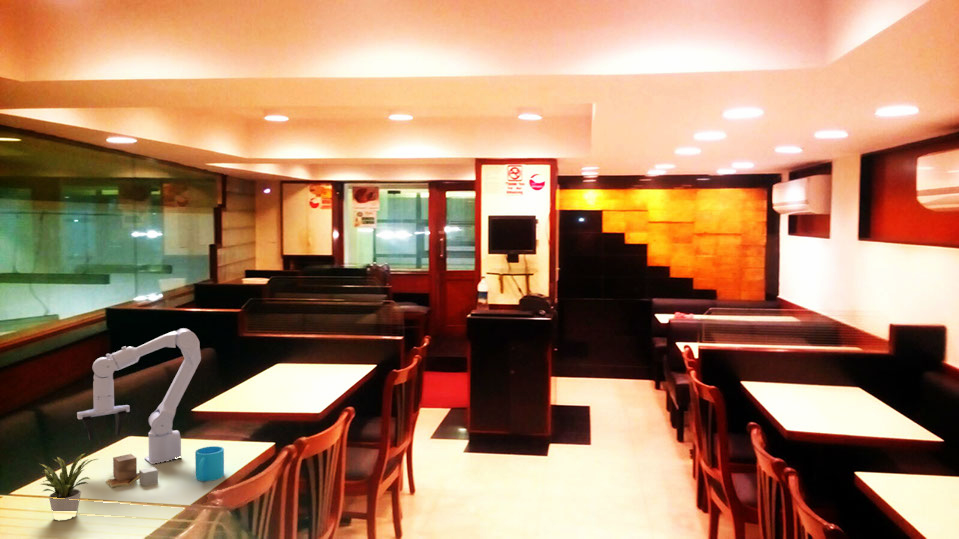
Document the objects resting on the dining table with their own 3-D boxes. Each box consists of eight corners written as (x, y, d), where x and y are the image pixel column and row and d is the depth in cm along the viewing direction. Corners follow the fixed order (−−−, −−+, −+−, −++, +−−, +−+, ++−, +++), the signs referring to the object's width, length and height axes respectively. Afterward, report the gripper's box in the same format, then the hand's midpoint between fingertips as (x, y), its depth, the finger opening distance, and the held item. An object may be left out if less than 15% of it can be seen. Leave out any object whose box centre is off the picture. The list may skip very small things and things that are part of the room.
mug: (202, 471, 207) (201, 446, 207) (227, 471, 207) (227, 446, 207) (185, 485, 195) (185, 458, 195) (213, 485, 195) (212, 458, 195)
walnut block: (131, 472, 202) (131, 453, 202) (136, 477, 199) (136, 457, 199) (113, 476, 199) (113, 457, 199) (118, 481, 195) (118, 461, 195)
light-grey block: (153, 479, 200) (153, 466, 200) (157, 483, 197) (157, 470, 197) (139, 482, 197) (139, 469, 197) (143, 486, 194) (143, 473, 194)
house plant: (103, 501, 182) (102, 443, 182) (101, 520, 170) (100, 458, 170) (42, 510, 176) (40, 450, 175) (35, 530, 163) (34, 466, 163)
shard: (144, 476, 205) (144, 470, 205) (152, 482, 199) (152, 476, 199) (105, 484, 197) (105, 479, 197) (113, 491, 192) (113, 485, 192)
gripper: (80, 401, 201) (81, 444, 201) (132, 394, 211) (132, 435, 211) (75, 397, 206) (76, 439, 206) (126, 390, 216) (126, 431, 216)
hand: (104, 437), depth 209 cm, fingers open, 7 cm apart
